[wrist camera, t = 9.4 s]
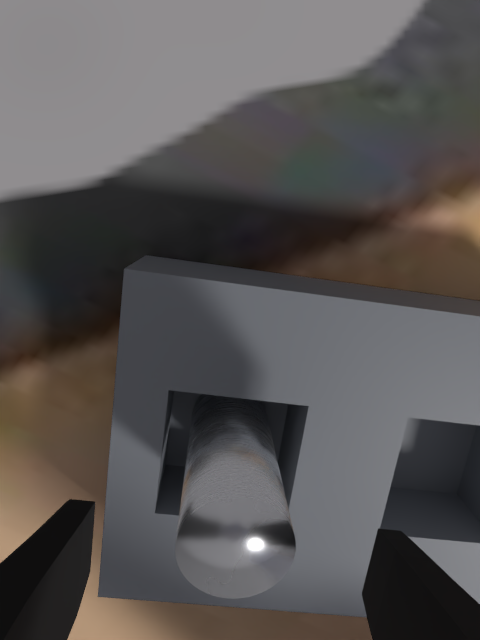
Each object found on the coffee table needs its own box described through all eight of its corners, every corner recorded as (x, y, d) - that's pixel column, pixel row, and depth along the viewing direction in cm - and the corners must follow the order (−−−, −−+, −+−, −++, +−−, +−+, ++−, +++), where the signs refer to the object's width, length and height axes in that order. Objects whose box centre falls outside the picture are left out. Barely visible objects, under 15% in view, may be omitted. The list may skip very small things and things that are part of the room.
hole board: (459, 551, 21) (514, 628, 17) (121, 520, 20) (97, 596, 16) (534, 308, 18) (620, 335, 14) (146, 255, 17) (124, 268, 13)
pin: (260, 454, 18) (285, 602, 11) (188, 447, 18) (169, 594, 11) (271, 387, 17) (305, 503, 11) (196, 379, 17) (181, 492, 10)
